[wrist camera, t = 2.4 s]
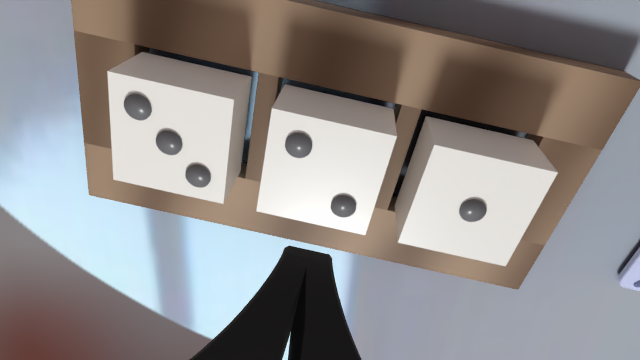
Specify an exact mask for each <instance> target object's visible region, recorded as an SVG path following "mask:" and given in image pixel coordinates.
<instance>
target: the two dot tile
mask: <svg viewBox="0 0 640 360" xmlns="http://www.w3.org/2000/svg"><path fill="white" fill-rule="evenodd" d="M396 138H397V133H396V125H395V117H394V109H392V108H388V107H384V106H379V105H375V104H370V103H366V102H362V101H357V100H353V99H348V98H344V97H339V96H335V95H331V94H326V93H322V92H317V91H313V90H308V89H304V88H300V87H295V86H291V85H286V84H285V85H284V86H283V88H282V90H281V92H280V94H279V96H278V98H277V99H276V101H275V103H274V105H273V107H272V110H271V117H270V124H269V130H268V137H267V144H266V150H265V157H264V163H263V170H262V177H261V183H260V190H259V197H258V203H257V210H256V211H257V212H262V213H266V214H271V215H275V216H280V217H285V218H289V219H294V220H298V221H303V222H307V223H312V224H316V225H321V226H325V227H330V228H334V229H339V230H343V231H348V232H352V233H357V234H361V235H366V231H367V228H368V225H369V222H370V219H371V216H372V213H373V210H374V207H375V203H376V200H377V197H378V194H379V191H380V188H381V185H382V182H383V178H384V175H385V172H386V169H387V166H388V163H389V160H390V157H391V154H392V150H393V147H394V144H395V141H396Z"/></svg>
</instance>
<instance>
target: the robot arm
mask: <svg viewBox="0 0 640 360" xmlns="http://www.w3.org/2000/svg"><path fill="white" fill-rule="evenodd" d="M638 280H639V281H638ZM617 281H618V282H619V284H620V285H621V286H622V287H624V288H628V289H633V290H637V291H640V247H639V249H638V250H637V251H636V253H635V254H634V255H633V257H632V258H631V259H630V261H629V262H628V263H627V265H626V266H625V267H624V269H623V270H622V271H621V273H620V274H619V275H618V277H617ZM636 281H637V282H636ZM290 332H291V335H290ZM289 335H290V345H289V355H288V360H361V358H360V355H359V353H358V351H357V348H356V346H355V343H354V341H353V338H352V336H351V333H350V330H349V328H348V325H347V322H346V319H345V316H344V313H343V309H342V306H341V303H340V299H339V296H338V292H337V287H336V283H335V278H334V273H333V266H332V258H331V256H330V255H329V254H324V253H320V252H315V251H311V250H306V249H302V248H297V247H293V246H288V247H286V248H285V249H284V251H283V254H282V256H281V258H280V260H279V261H278V263H277V265H276V266H275V268H274V269H273V271H272V273H271V274H270V276H269V277H268V278H267V280H266V281H265V282H264V284H263V285H262V286H261V288H260V289H259V291H258V292H257V293H256V294H255V296H254V297H253V298H252V299H251V300H250V301H249V303H248V304H247V305H246V306H245V307H244V308H243V310H242V311H241V312H240V313H239V314H238V315H237V316H236V317H235V318H234V319H233V321H232V322H231V323H230V324H229V325H228V326H227V327H226V328H225V329H224V330H223V331H222V332H220V333H219V334H218V335H217V336H216V337H215V338H214V339H213V340H212V341H211V342H210V343H209V344H207V345H206V346H205V347H204V348H203V349H202V350H201V351H200V352H198V353H197V354H196V355H195V356H194V357H192V358H191V359H190V360H282V358H283V355H284V352H285V348H286V345H287V342H288V338H289Z"/></svg>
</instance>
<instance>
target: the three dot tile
mask: <svg viewBox="0 0 640 360" xmlns="http://www.w3.org/2000/svg"><path fill="white" fill-rule="evenodd" d="M107 74H108V92H109V110H110V128H111V146H112V164H113V180H117V181H122V182H126V183H131V184H135V185H140V186H144V187H149V188H154V189H158V190H163V191H167V192H172V193H176V194H181V195H185V196H190V197H194V198H199V199H203V200H208V201H212V202H217V203H221V204H224V202H225V200H226V198H227V196H228V194H229V193H230V191H231V189H232V187H233V185H234V183H235V181H236V179H237V177H238V175H239V173H240V172H241V164H242V155H243V147H244V139H245V130H246V122H247V114H248V106H249V97H250V89H251V81H252V77H251V76H247V75H242V74H238V73H233V72H229V71H225V70H220V69H216V68H211V67H207V66H202V65H198V64H194V63H189V62H185V61H180V60H176V59H171V58H167V57H163V56H158V55H154V54H149V53H145V52H141V53H139V54H137V55H136V56H134V57H132V58H130V59H128V60H127V61H125V62H123V63H121V64H119V65H118V66H116V67H114V68H112V69H110V70H109V71H107Z"/></svg>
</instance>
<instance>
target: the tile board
mask: <svg viewBox="0 0 640 360" xmlns="http://www.w3.org/2000/svg"><path fill="white" fill-rule="evenodd" d="M71 4H72V15H73V26H74V37H75V48H76V59H77V69H78V80H79V91H80V102H81V113H82V124H83V135H84V146H85V157H86V168H87V179H88V189H89V195H92V196H96V197H101V198H105V199H110V200H114V201H119V202H123V203H128V204H132V205H137V206H141V207H146V208H151V209H155V210H160V211H164V212H169V213H173V214H178V215H182V216H187V217H191V218H196V219H200V220H205V221H209V222H214V223H219V224H223V225H228V226H232V227H237V228H241V229H246V230H250V231H255V232H259V233H264V234H268V235H273V236H277V237H282V238H287V239H291V240H296V241H300V242H305V243H309V244H314V245H318V246H323V247H327V248H332V249H336V250H341V251H345V252H350V253H354V254H359V255H364V256H368V257H373V258H377V259H382V260H386V261H391V262H395V263H400V264H404V265H409V266H413V267H418V268H422V269H427V270H432V271H436V272H441V273H445V274H450V275H454V276H459V277H463V278H468V279H472V280H477V281H481V282H486V283H490V284H495V285H500V286H504V287H509V288H513V289H519V287H520V286H521V284H522V282H523V281H524V279H525V277H526V276H527V274H528V272H529V271H530V269H531V267H532V266H533V264H534V262H535V261H536V259H537V257H538V256H539V254H540V252H541V251H542V249H543V247H544V246H545V244H546V242H547V241H548V239H549V237H550V236H551V234H552V232H553V231H554V229H555V227H556V226H557V224H558V222H559V221H560V219H561V217H562V216H563V214H564V212H565V211H566V209H567V207H568V206H569V204H570V202H571V201H572V199H573V198H574V196H575V194H576V193H577V191H578V189H579V188H580V186H581V184H582V183H583V181H584V179H585V178H586V176H587V174H588V173H589V171H590V169H591V168H592V166H593V164H594V163H595V161H596V159H597V158H598V156H599V154H600V153H601V151H602V149H603V148H604V146H605V144H606V143H607V141H608V139H609V138H610V136H611V134H612V133H613V131H614V129H615V128H616V126H617V124H618V123H619V121H620V119H621V118H622V116H623V114H624V113H625V111H626V109H627V108H628V106H629V104H630V103H631V101H632V99H633V98H634V96H635V94H636V93H637V91H638V89H639V88H640V80H639V79H637V78H635V77H633V76H632V75H630V74H628V73H626V72H625V71H620V70H616V69H612V68H607V67H603V66H599V65H594V64H590V63H585V62H581V61H577V60H572V59H568V58H564V57H559V56H555V55H551V54H546V53H542V52H538V51H533V50H529V49H524V48H520V47H516V46H511V45H507V44H503V43H498V42H494V41H490V40H485V39H481V38H477V37H472V36H468V35H463V34H459V33H455V32H450V31H446V30H442V29H437V28H433V27H429V26H424V25H420V24H416V23H411V22H407V21H402V20H398V19H394V18H389V17H385V16H381V15H376V14H372V13H368V12H363V11H359V10H355V9H350V8H346V7H341V6H337V5H333V4H328V3H324V2H320V1H315V0H71ZM149 48H153V49H158V50H162V51H167V52H171V53H175V54H180V55H184V56H189V57H193V58H198V59H202V60H206V61H211V62H215V63H220V64H224V65H228V66H233V67H237V68H242V69H246V70H251V71H255V72H259V75H258V83H257V91H256V99H255V106H254V114H253V122H252V130H251V138H250V146H249V153H248V161H247V164H246V163H242V164H241V172H240V173H239V175H238V177H237V179H236V181H235V183H234V185H233V187H232V189H231V191H230V193H229V194H228V196H227V198H226V200H225V202H224V204H221V203H217V202H212V201H208V200H203V199H199V198H194V197H190V196H185V195H181V194H176V193H172V192H167V191H163V190H158V189H154V188H149V187H144V186H140V185H135V184H131V183H126V182H122V181H117V180H113V164H112V146H111V128H110V110H109V92H108V74H107V71H109V70H110V69H112V68H114V67H116V66H118V65H119V64H121V63H123V62H125V61H127V60H128V59H130V58H132V57H134V56H136V55H137V54H139V53H141V52H145V53H149ZM283 78H286V79H290V80H295V81H299V82H304V83H308V84H312V85H317V86H321V87H326V88H330V89H334V90H339V91H343V92H348V93H352V94H357V95H361V96H365V97H370V98H374V99H379V100H383V101H387V102H392V103H396V104H397V105H396V108H395V111H394V117H395V125H396V133H397V138H396V141H395V144H394V147H393V150H392V154H391V157H390V160H389V163H388V166H387V169H386V172H385V175H384V178H383V182H382V185H381V188H380V191H379V194H378V197H377V200H376V203H375V207H374V210H373V213H372V216H371V219H370V222H369V225H368V228H367V231H366V235H361V234H357V233H352V232H348V231H343V230H339V229H334V228H330V227H325V226H321V225H316V224H312V223H307V222H303V221H298V220H294V219H289V218H285V217H280V216H275V215H271V214H266V213H262V212H257V211H256V210H257V203H258V197H259V190H260V183H261V177H262V170H263V163H264V157H265V150H266V144H267V137H268V130H269V124H270V117H271V110H272V107H273V105H274V103H275V101H276V99H277V98H278V96H279V94H280V92H281V86H282V80H283ZM422 109H423V110H427V111H432V112H436V113H440V114H445V115H449V116H454V117H458V118H463V119H467V120H471V121H476V122H480V123H485V124H489V125H493V126H498V127H502V128H507V129H511V130H516V131H520V132H524V133H528V135H527V137H526V139H530V140H533V141H534V142H535V143H536V144H537V146H538V147H539V148H540V150H541V151H542V152H543V154H544V155H545V156H546V158H547V159H548V160H549V161H550V163H551V164H552V165H553V167H554V168H555V169H556V171H557V172H558V174H557V175H556V177H555V179H554V181H553V183H552V184H551V186H550V188H549V190H548V192H547V193H546V195H545V197H544V199H543V200H542V202H541V204H540V206H539V208H538V209H537V211H536V213H535V215H534V217H533V218H532V220H531V222H530V224H529V225H528V227H527V229H526V231H525V233H524V234H523V236H522V238H521V240H520V242H519V243H518V245H517V247H516V249H515V251H514V252H513V254H512V256H511V258H510V259H509V261H508V263H507V265H506V266H501V265H497V264H492V263H488V262H483V261H479V260H474V259H470V258H465V257H461V256H456V255H452V254H447V253H443V252H438V251H434V250H429V249H425V248H420V247H416V246H411V245H406V244H402V243H398V240H397V228H396V217H395V203H396V200H397V197H394V196H392V195H393V192H394V189H395V186H396V183H397V180H398V177H399V174H400V171H401V168H402V166H403V163H404V160H405V157H406V154H407V151H408V148H409V145H410V142H411V139H412V136H413V133H414V130H415V127H416V124H417V122H418V119H419V116H420V113H421V110H422Z"/></svg>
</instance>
